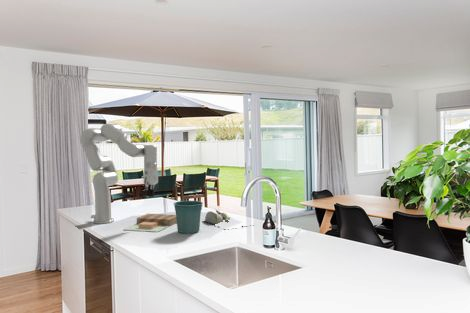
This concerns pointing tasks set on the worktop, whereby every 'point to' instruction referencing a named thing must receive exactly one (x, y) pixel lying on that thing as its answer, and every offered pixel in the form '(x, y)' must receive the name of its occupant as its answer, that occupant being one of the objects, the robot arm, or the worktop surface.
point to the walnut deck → (158, 219)
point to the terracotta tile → (148, 225)
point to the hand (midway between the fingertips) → (150, 195)
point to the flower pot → (188, 216)
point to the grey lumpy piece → (215, 218)
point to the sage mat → (136, 228)
